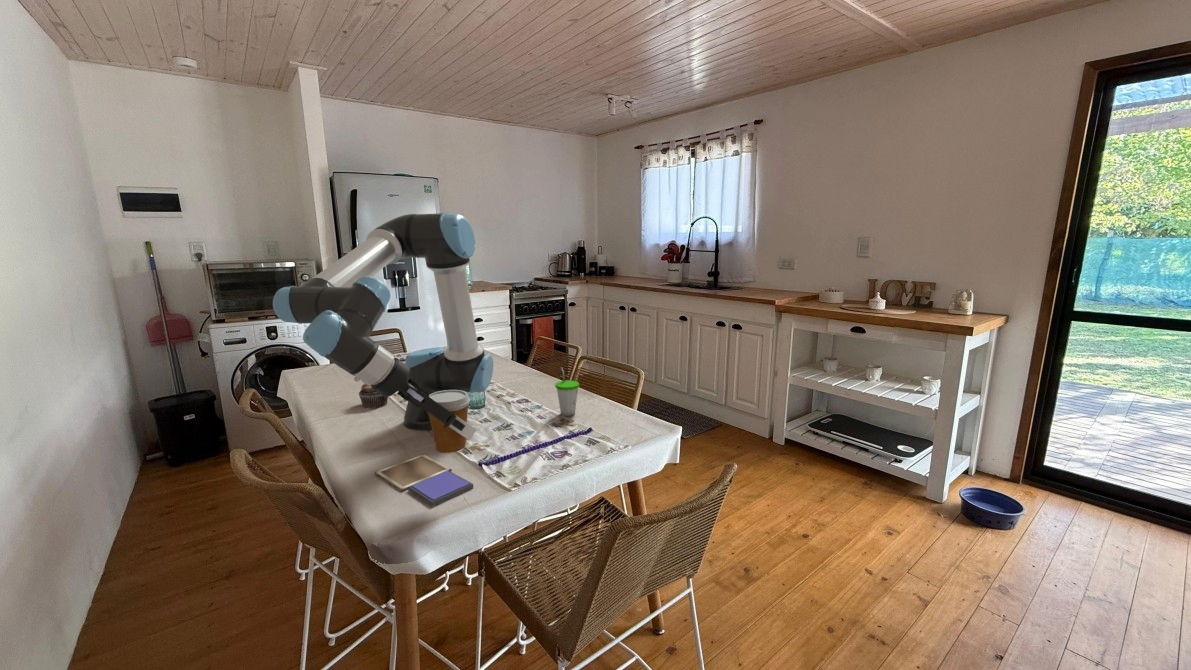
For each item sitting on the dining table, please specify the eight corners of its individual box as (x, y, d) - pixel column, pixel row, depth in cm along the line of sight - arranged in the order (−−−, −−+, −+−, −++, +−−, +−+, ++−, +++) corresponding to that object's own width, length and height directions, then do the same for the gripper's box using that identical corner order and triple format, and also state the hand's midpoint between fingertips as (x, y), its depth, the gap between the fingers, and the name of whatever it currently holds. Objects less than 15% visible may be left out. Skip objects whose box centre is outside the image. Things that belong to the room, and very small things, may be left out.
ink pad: (448, 474, 120) (448, 469, 120) (473, 487, 114) (473, 483, 114) (408, 490, 113) (408, 485, 113) (433, 506, 106) (432, 501, 106)
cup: (579, 418, 157) (578, 373, 154) (554, 418, 157) (553, 373, 154) (580, 409, 164) (579, 366, 161) (557, 409, 164) (556, 366, 161)
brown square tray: (423, 455, 130) (423, 453, 130) (451, 471, 122) (451, 468, 122) (375, 474, 121) (374, 471, 121) (401, 491, 112) (401, 489, 112)
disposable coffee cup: (476, 438, 114) (473, 388, 111) (467, 456, 104) (464, 402, 102) (435, 438, 113) (431, 389, 111) (422, 457, 104) (418, 403, 102)
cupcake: (360, 402, 173) (357, 375, 171) (389, 398, 177) (387, 372, 175) (359, 411, 164) (356, 382, 162) (390, 406, 168) (388, 379, 166)
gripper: (357, 374, 105) (436, 427, 117) (383, 401, 88) (472, 458, 100) (381, 347, 107) (456, 401, 119) (411, 367, 90) (495, 428, 103)
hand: (463, 427), depth 110 cm, fingers closed on disposable coffee cup, 9 cm apart
